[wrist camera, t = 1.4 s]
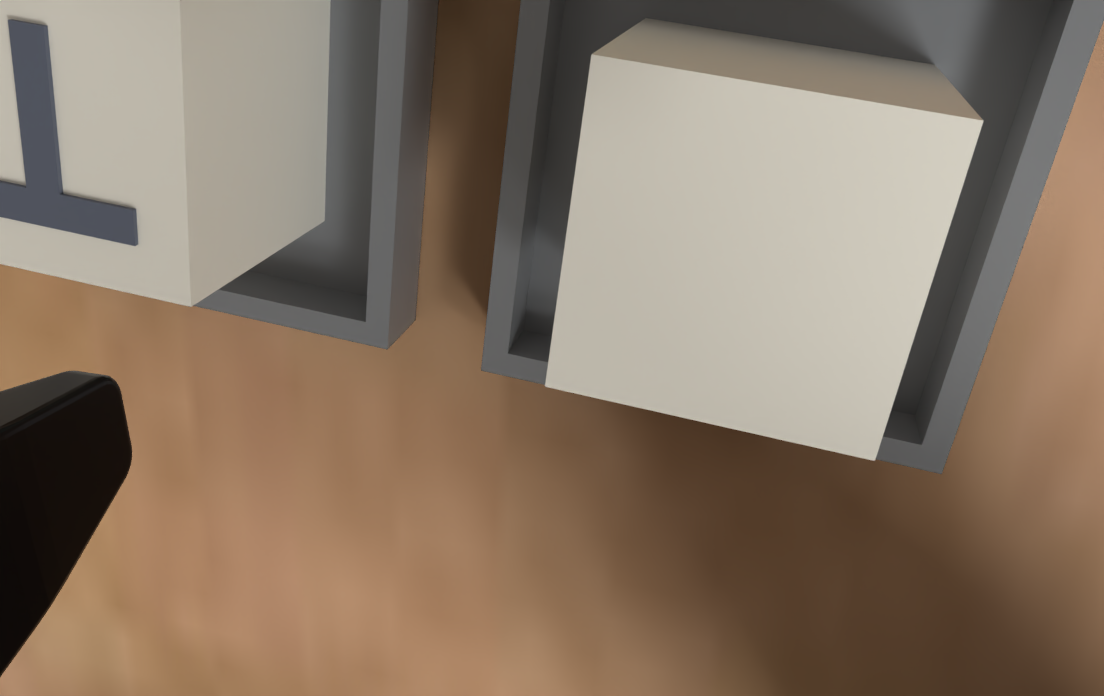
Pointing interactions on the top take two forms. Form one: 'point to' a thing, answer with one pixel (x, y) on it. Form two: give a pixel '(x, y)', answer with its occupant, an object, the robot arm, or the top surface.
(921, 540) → the top surface
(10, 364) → the top surface
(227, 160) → the letter cube
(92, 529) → the robot arm
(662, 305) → the blank cube
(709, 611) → the top surface
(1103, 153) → the top surface
